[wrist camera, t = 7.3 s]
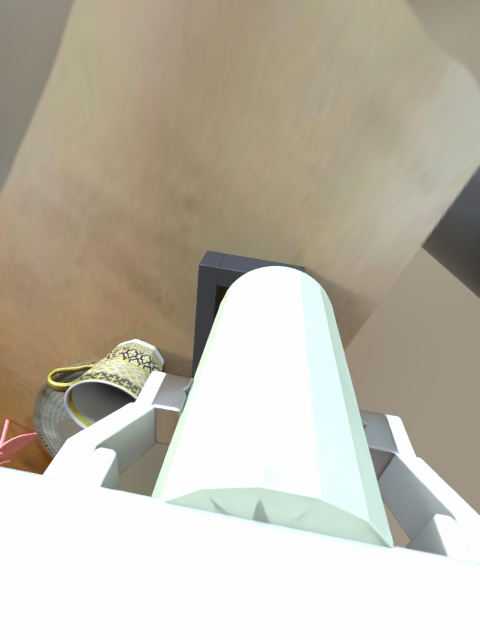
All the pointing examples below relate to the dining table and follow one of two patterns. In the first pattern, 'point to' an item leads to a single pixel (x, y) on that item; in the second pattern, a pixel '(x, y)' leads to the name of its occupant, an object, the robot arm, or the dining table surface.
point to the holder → (218, 291)
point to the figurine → (13, 443)
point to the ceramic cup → (108, 382)
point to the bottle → (276, 418)
